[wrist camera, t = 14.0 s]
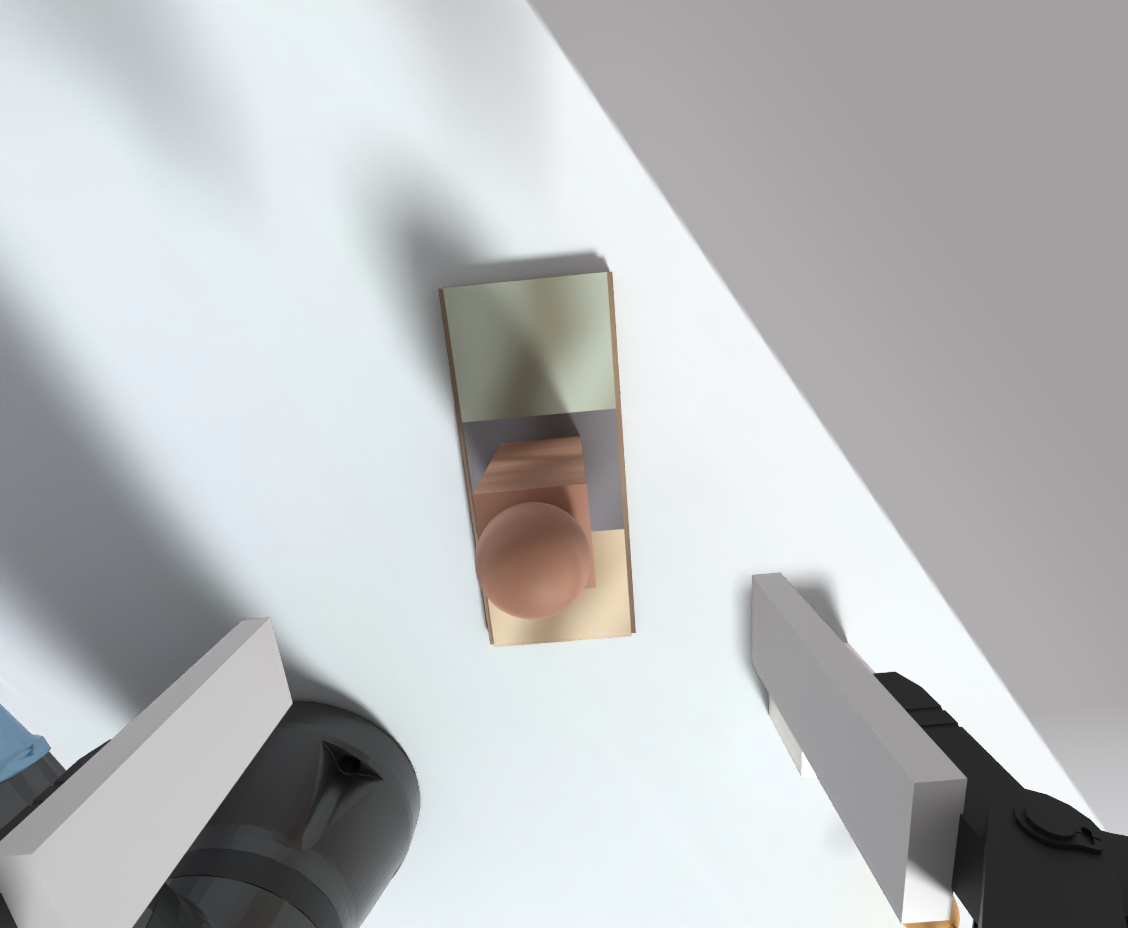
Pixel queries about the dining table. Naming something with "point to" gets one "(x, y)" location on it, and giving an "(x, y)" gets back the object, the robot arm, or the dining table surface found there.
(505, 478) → the pawn
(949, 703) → the dining table surface
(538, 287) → the board
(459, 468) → the dining table surface
